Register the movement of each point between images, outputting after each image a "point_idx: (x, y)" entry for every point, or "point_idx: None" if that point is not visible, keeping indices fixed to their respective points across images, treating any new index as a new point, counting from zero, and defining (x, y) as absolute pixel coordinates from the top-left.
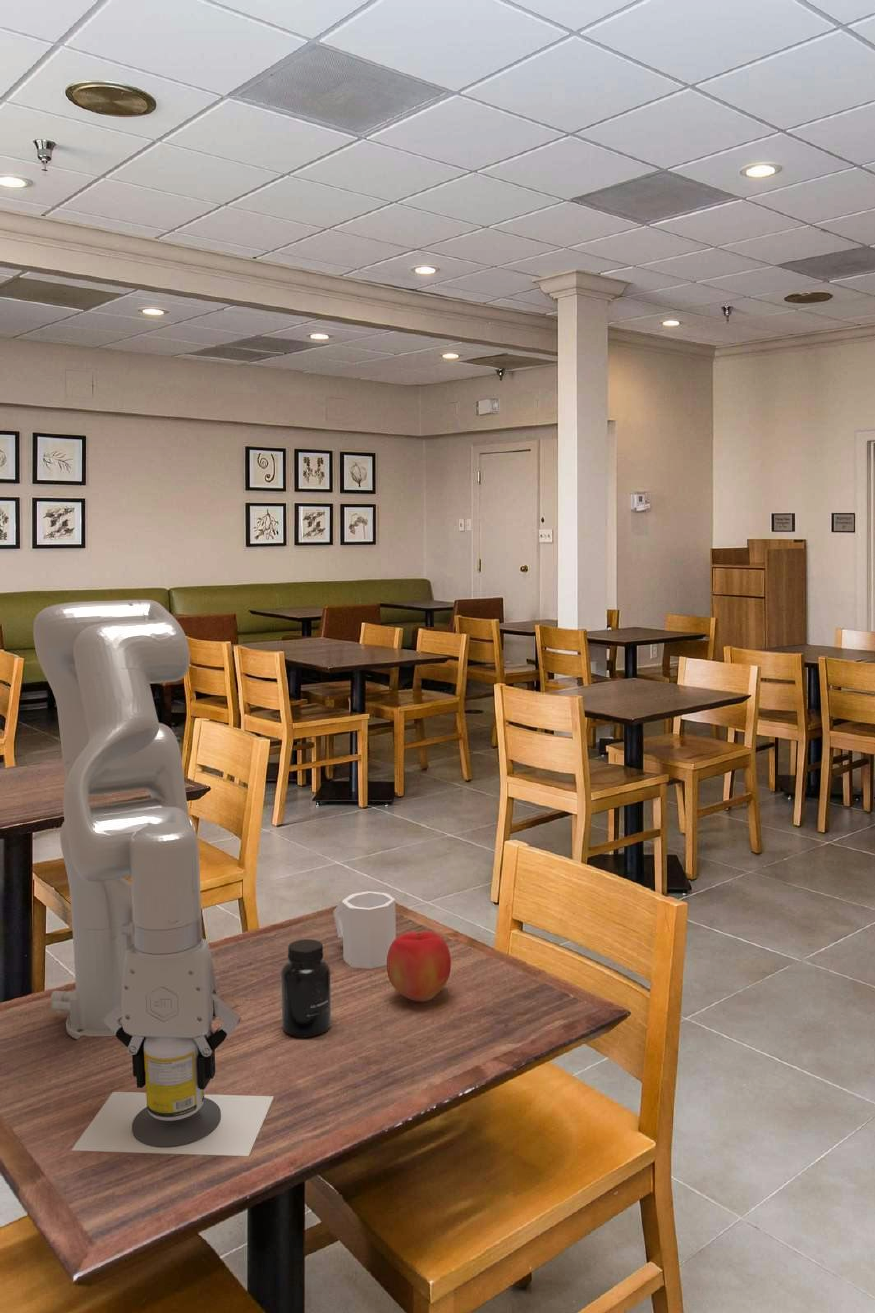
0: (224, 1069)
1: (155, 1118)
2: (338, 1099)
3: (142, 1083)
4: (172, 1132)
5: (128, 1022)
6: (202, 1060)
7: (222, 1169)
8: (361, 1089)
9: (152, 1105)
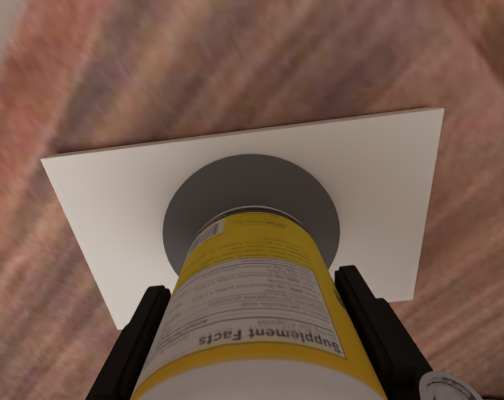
0: None
1: None
2: (37, 342)
3: (341, 275)
4: (238, 200)
5: None
6: (100, 380)
7: (101, 134)
8: (21, 365)
9: (288, 224)
